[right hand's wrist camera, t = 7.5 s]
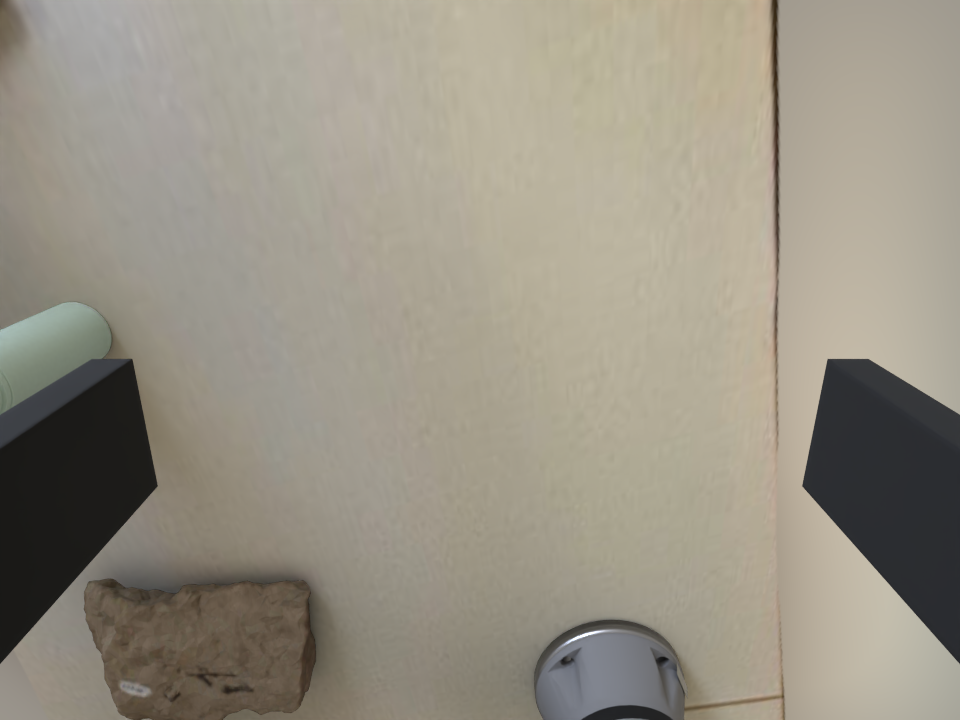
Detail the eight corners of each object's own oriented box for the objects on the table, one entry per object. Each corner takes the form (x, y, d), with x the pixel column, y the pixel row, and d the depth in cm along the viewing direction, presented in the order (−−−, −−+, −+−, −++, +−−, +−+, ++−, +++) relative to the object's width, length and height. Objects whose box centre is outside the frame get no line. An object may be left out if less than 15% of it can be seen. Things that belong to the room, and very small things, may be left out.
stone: (102, 709, 65) (76, 753, 59) (93, 569, 63) (65, 600, 57) (317, 690, 68) (313, 729, 62) (315, 557, 66) (310, 584, 61)
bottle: (123, 353, 55) (-25, 449, 39) (66, 370, 56) (-104, 472, 39) (92, 293, 53) (-77, 368, 37) (33, 312, 54) (-159, 393, 38)
